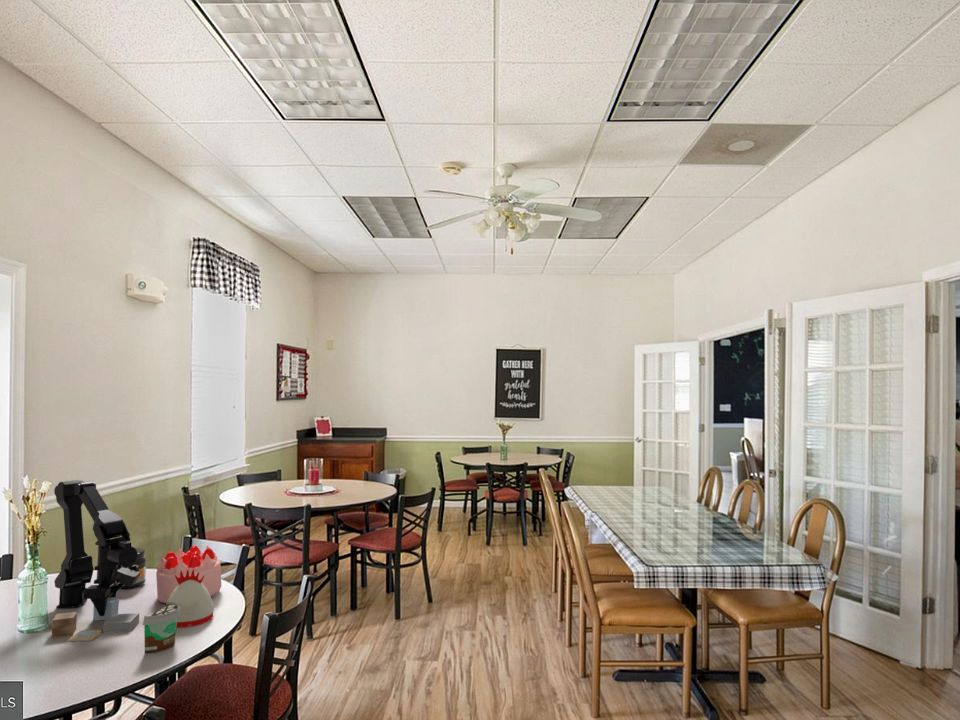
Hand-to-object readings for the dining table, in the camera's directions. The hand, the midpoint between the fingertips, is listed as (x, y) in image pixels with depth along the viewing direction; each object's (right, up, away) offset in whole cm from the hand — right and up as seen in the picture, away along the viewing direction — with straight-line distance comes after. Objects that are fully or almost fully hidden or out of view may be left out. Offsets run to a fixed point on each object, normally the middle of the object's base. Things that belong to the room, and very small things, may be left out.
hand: (106, 612), depth 187 cm
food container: (+28, -1, -20) cm, 35 cm away
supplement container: (-10, -3, +29) cm, 30 cm away
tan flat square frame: (+3, -1, -15) cm, 15 cm away
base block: (+9, -1, -8) cm, 12 cm away
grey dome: (+25, -2, 0) cm, 25 cm away
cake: (+16, -2, +20) cm, 26 cm away
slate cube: (0, -1, 0) cm, 1 cm away
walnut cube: (-4, -1, -13) cm, 13 cm away
